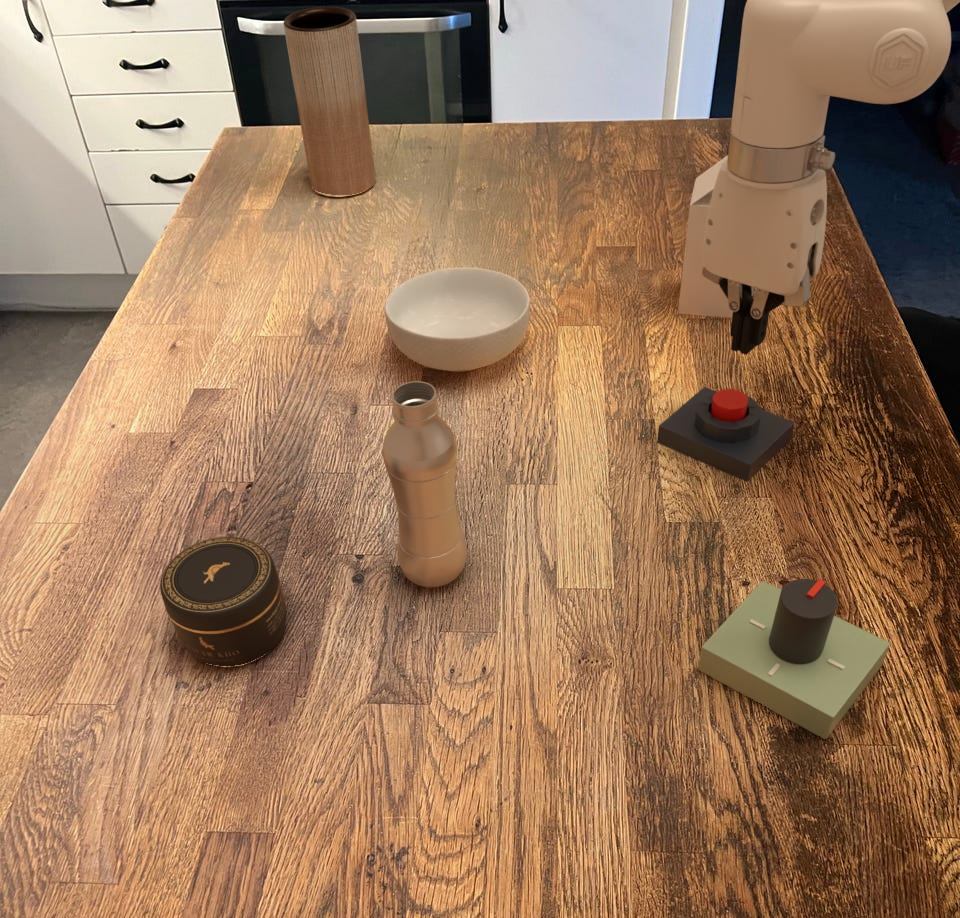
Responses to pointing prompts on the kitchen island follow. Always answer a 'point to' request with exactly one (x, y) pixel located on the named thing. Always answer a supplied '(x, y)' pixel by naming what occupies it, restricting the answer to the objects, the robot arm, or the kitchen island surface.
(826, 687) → the panel
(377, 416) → the kitchen island surface
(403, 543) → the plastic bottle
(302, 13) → the planter
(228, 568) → the jar
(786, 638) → the knob
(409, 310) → the cereal bowl
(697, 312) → the milk carton
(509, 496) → the kitchen island surface
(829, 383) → the kitchen island surface
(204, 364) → the kitchen island surface
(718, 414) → the button
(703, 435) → the button block
